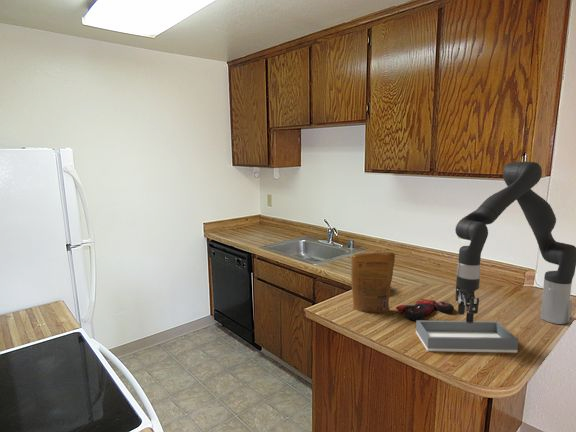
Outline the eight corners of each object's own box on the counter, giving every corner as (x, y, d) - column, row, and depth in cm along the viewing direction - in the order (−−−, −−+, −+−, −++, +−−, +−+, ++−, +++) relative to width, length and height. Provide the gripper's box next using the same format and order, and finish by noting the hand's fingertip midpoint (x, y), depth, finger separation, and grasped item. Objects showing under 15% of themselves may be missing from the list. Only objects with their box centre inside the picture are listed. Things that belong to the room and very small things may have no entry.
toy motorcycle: (456, 315, 159) (429, 297, 173) (458, 304, 158) (431, 288, 172) (413, 328, 149) (388, 308, 163) (415, 317, 148) (389, 298, 162)
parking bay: (496, 333, 140) (497, 321, 139) (517, 352, 126) (518, 339, 126) (415, 332, 142) (416, 320, 141) (427, 351, 128) (428, 338, 127)
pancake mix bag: (394, 316, 156) (396, 254, 152) (350, 314, 159) (351, 253, 154) (391, 310, 163) (394, 250, 159) (349, 308, 165) (350, 249, 161)
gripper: (488, 281, 123) (485, 327, 125) (470, 269, 137) (467, 310, 140) (466, 281, 123) (463, 327, 126) (449, 268, 137) (447, 310, 140)
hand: (465, 318), depth 133 cm, fingers open, 6 cm apart
